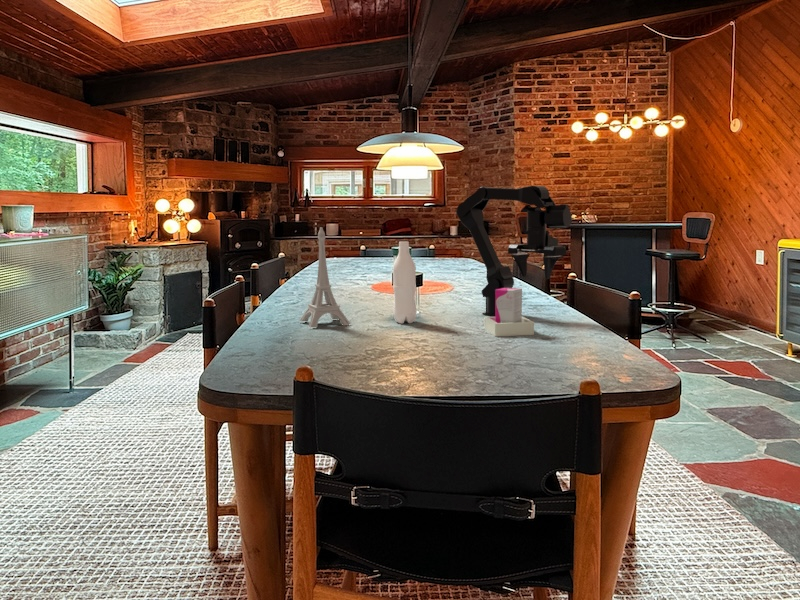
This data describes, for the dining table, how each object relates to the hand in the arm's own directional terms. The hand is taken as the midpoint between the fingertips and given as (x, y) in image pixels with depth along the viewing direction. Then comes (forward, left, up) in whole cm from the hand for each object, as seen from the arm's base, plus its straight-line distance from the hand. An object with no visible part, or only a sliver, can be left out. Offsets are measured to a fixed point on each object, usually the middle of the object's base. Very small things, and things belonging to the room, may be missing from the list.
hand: (535, 277), depth 197 cm
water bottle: (-24, -33, -13) cm, 43 cm away
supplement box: (+8, -21, -12) cm, 25 cm away
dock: (+8, -21, -13) cm, 26 cm away
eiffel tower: (-39, -53, -13) cm, 67 cm away
